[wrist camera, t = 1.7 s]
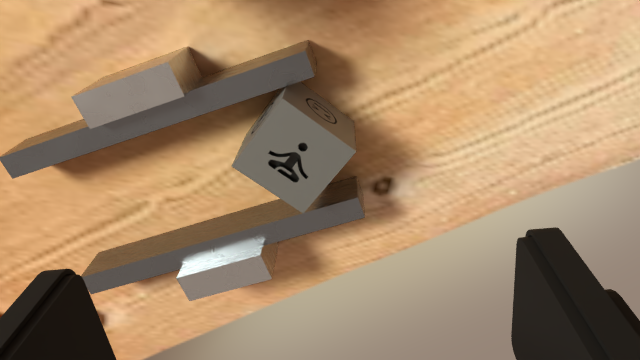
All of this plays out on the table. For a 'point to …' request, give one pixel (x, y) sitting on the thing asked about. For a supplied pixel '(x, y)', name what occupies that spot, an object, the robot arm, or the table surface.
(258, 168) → the dice cube
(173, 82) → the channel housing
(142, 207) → the table surface
